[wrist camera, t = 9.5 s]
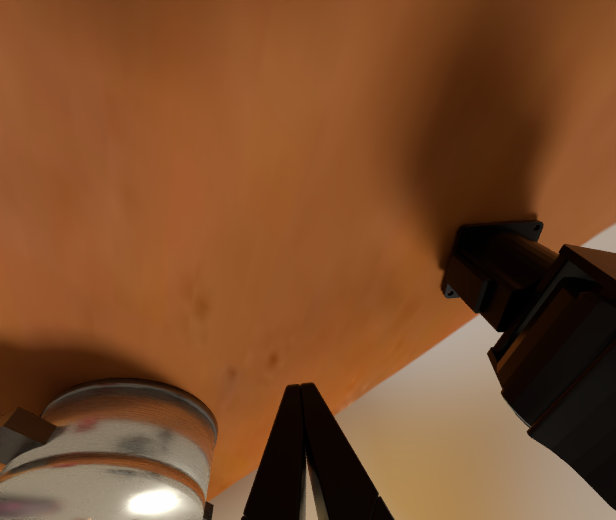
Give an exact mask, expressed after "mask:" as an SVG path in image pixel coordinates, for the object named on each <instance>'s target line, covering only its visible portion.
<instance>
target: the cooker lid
mask: <svg viewBox="0 0 616 520" xmlns="http://www.w3.org/2000/svg"><path fill="white" fill-rule="evenodd" d="M204 508H205V496H204V493H203V491H202V489H201V488H200V487H199V485H198V484H197V483H196V482H195V481H194V480H192V479H191V478H190V477H188V476H187V475H185V474H184V473H182V472H180V471H178V470H176V469H174V468H172V467H169V466H166V465H164V464H161V463H158V462H154V461H150V460H147V459H142V458H137V457H132V456H124V455H116V454H101V453H82V454H67V455H60V456H52V457H47V458H43V459H38V460H34V461H31V462H28V463H25V464H22V465H20V466H17V467H15V468H13V469H11V470H9V471H7V472H6V473H4V474H2V475H1V476H0V520H203V514H204Z"/></svg>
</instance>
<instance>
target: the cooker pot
mask: <svg viewBox="0 0 616 520" xmlns="http://www.w3.org/2000/svg"><path fill="white" fill-rule="evenodd" d="M217 434H218V426H217V422H216V419H215V417H214V415H213V414H212V412H211V411H210V410H209V408H208V407H207V406H206V405H205V404H204V403H202V402H201V401H200V400H199V399H197V398H196V397H194V396H193V395H191V394H189V393H187V392H185V391H183V390H181V389H178V388H176V387H173V386H170V385H167V384H163V383H160V382H155V381H150V380H143V379H135V378H109V379H101V380H94V381H90V382H85V383H82V384H79V385H76V386H73V387H71V388H69V389H67V390H65V391H63V392H62V393H60V394H59V395H57V396H56V397H55V398H54V399H53V400H52V401H51V402H50V403H49V404H48V406H47V407H46V408H45V410H44V411H43V413H42V414H41V415H40V417H38V416H36V415H34V414H32V413H30V412H28V411H26V410H24V409H22V408H20V407H17V408H16V409H14V410H12V411H10V412H8V413H7V414H5V415H3V416H1V417H0V463H3V464H5V465H6V466H5V468H4V469H3V470H2V472H1V473H0V476H1V475H2V474H4V473H6V472H7V471H9V470H11V469H13V468H15V467H17V466H20V465H22V464H25V463H28V462H31V461H34V460H38V459H43V458H47V457H52V456H60V455H67V454H82V453H101V454H116V455H124V456H132V457H137V458H142V459H147V460H150V461H154V462H158V463H161V464H164V465H166V466H169V467H172V468H174V469H176V470H178V471H180V472H182V473H184V474H185V475H187V476H188V477H190V478H191V479H192V480H194V481H195V482H196V483H197V484H198V485H199V487H200V488H201V489H202V491H203V493H204V496H205V508H204V514H203V520H212V513H213V505H212V504H210V503H208V502H206V496H207V489H208V483H209V477H210V471H211V465H212V459H213V453H214V448H215V445H216V441H217Z"/></svg>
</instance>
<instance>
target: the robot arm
mask: <svg viewBox="0 0 616 520" xmlns="http://www.w3.org/2000/svg"><path fill="white" fill-rule="evenodd" d="M542 229H543V223H542V222H540V221H538V220H524V221H510V222H495V223H481V224H467V225H463V226H461V227H460V228H459V229H458V231H457V235H456V239H455V243H454V247H453V251H452V254H451V257H450V261H449V265H448V269H447V273H446V277H445V284H444V288H443V295H444V296H445V297H446V298H459V297H461V299H462V300H463V301H464V302H465V303H466V304H467V305H468V306H469V307H470V308H471V309H472V310H473V311H474V312H475V313H480V314H481V315H482V316H483V317H484V318H485V319H486V320H487V321H488V323H489V324H490V325H491V326H492V327H493V328H494V329H495V330H496V331H497V332H504V333H503V335H502V336H501V337H500V339H499V340H498V341H497V343H496V344H495V346H494V347H491V348H490V350H489V351H488V353H487V355H488V357H489V359H490V362H491V364H492V366H493V369H494V371H495V373H496V375H497V378H498V380H499V382H500V384H501V387H502V391H501V394H502V396H503V398H504V400H505V401H506V402H507V404H508V405H509V406H510V407H511V409H512V410H513V411H514V412H515V414H516V415H517V416H518V417H519V418H520V419H521V420H522V421H523V422H524V423H525V424H526V425H527V426H528V427H529V429H528V430H527V433H528V435H529V436H530V437H531V438H533V439H534V440H536V441H537V442H539V443H541V444H542V445H544V446H545V447H547V448H548V449H550V450H551V451H552V452H554V453H555V454H556V455H557V456H559V457H560V458H561V459H562V460H564V461H565V462H566V463H567V464H569V465H570V466H571V467H572V468H573V469H574V470H575V471H576V472H577V473H578V474H579V475H580V476H581V477H582V478H583V479H584V480H585V481H586V482H587V483H588V484H589V485H590V486H591V487H592V488H593V489H594V490H595V491H596V492H597V493H598V494H599V495H600V496H601V497H602V498H603V499H604V500H605V501H606V502H607V503H608V504H609V505H610V506H611V507H612V508H613V509H615V510H616V253H612V252H606V251H601V250H595V249H590V248H584V247H579V246H574V245H568V244H564V245H563V246H562V248H561V249H560V251H559V253H560V254H557V253H555V252H553V251H552V250H550V249H548V248H546V247H545V246H543V245H541V244H539V243H537V241H538V239H539V236H540V234H541V231H542ZM466 230H467V232H466V233H465V234H464V232H465V231H466ZM450 291H451V292H450ZM449 292H450V293H449ZM305 449H306V450H305ZM306 458H307V465H308V471H309V476H310V481H311V485H312V491H313V495H314V501H315V506H316V511H317V516H318V520H394V518H393V516H392V515H391V513H390V511H389V510H388V508H387V506H386V504H385V503H384V501H383V499H382V498H381V496H379V497H378V495H379V493H378V491H377V489H376V488H375V486H374V484H373V483H372V481H371V479H370V478H369V476H368V474H367V472H366V471H365V469H364V467H363V466H362V464H361V462H360V461H359V459H358V457H357V455H356V454H355V452H354V450H353V449H352V447H351V445H350V444H349V442H348V440H347V438H346V437H345V435H344V433H343V432H342V430H341V428H340V427H339V425H338V423H337V421H336V420H335V418H334V416H333V415H332V413H331V411H330V410H329V408H328V406H327V404H326V403H325V401H324V399H323V398H322V396H321V394H320V393H319V391H318V389H317V387H316V386H315V384H314V383H312V382H311V383H302V384H301V385H299V384H293V385H288V386H287V387H286V389H285V392H284V395H283V398H282V400H281V403H280V406H279V409H278V412H277V415H276V418H275V421H274V424H273V427H272V430H271V433H270V436H269V439H268V442H267V445H266V447H265V450H264V453H263V456H262V459H261V462H260V465H259V468H258V471H257V474H256V477H255V480H254V483H253V486H252V489H251V492H250V495H249V497H248V500H247V503H246V506H245V509H244V513H243V514H244V516H242V518H241V520H305V516H306V512H305V511H306Z"/></svg>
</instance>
